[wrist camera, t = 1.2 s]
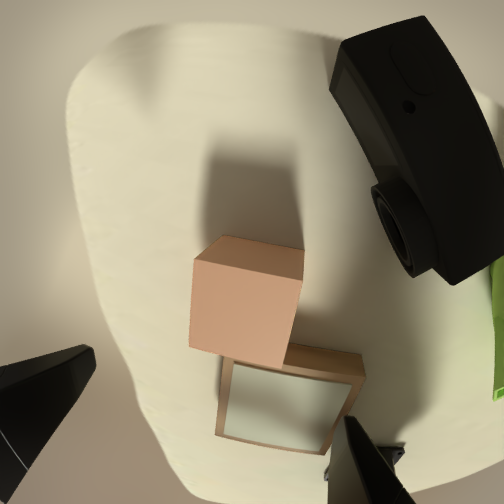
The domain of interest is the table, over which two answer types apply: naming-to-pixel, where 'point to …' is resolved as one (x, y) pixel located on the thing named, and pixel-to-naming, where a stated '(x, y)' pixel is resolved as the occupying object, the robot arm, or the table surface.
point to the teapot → (498, 325)
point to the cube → (245, 299)
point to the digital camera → (423, 148)
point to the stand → (289, 399)
